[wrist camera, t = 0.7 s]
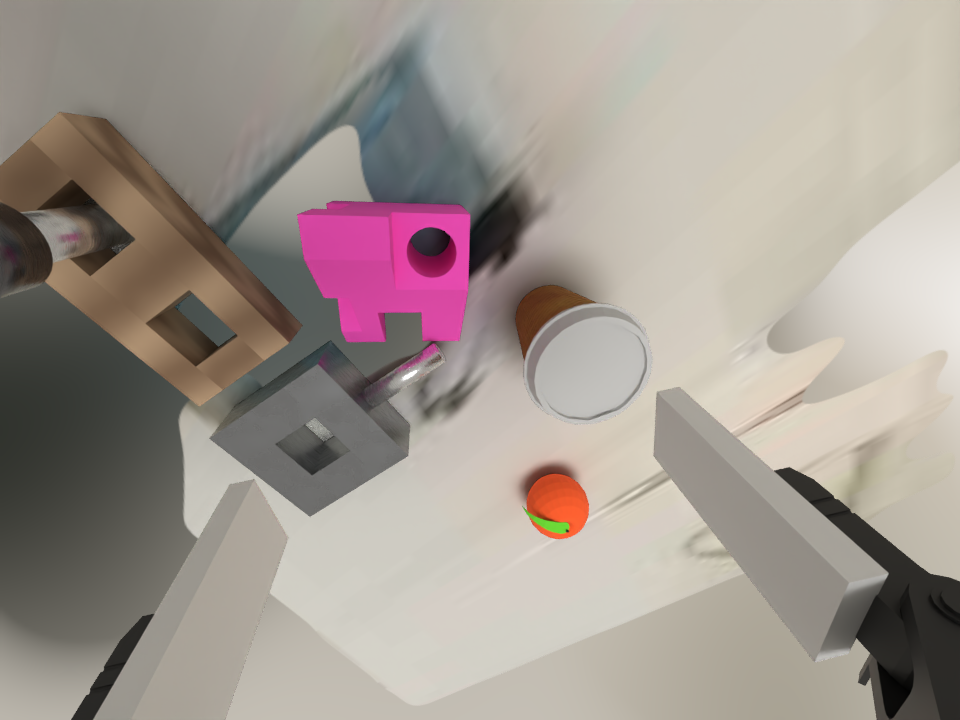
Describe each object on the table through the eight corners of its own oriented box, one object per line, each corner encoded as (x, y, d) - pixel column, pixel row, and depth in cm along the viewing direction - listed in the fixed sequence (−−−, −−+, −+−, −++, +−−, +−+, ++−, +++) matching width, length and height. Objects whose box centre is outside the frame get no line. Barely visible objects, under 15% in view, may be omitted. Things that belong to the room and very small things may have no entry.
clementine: (504, 500, 49) (516, 550, 42) (523, 455, 46) (539, 501, 40) (563, 508, 51) (583, 557, 44) (585, 466, 48) (610, 511, 42)
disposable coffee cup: (490, 355, 40) (514, 424, 29) (510, 259, 36) (547, 299, 25) (578, 365, 42) (632, 434, 31) (607, 276, 38) (679, 319, 27)
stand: (10, 203, 30) (-47, 208, 26) (105, 118, 28) (59, 112, 25) (220, 383, 38) (199, 406, 34) (302, 325, 36) (289, 342, 33)
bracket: (333, 200, 32) (297, 214, 23) (460, 204, 34) (474, 219, 24) (348, 338, 37) (324, 394, 28) (458, 337, 39) (469, 390, 30)
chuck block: (234, 407, 39) (209, 438, 34) (399, 292, 36) (396, 309, 32) (321, 481, 44) (309, 516, 40) (472, 385, 41) (478, 412, 37)
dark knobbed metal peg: (67, 213, 30) (-184, 246, 18) (113, 173, 30) (-115, 178, 17) (127, 267, 32) (-59, 331, 20) (172, 231, 32) (8, 274, 19)
